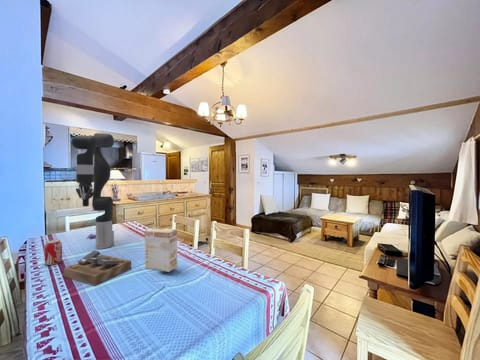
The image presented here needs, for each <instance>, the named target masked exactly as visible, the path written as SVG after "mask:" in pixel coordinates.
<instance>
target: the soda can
mask: <svg viewBox="0 0 480 360" xmlns="http://www.w3.org/2000/svg"><path fill="white" fill-rule="evenodd" d="M43 248H44V250H43V253H44V254H43V256H44V265H47V266H54V265H57V264H59V263H60V262H62V261H63V244H62V242H61V240H60V239H52V240H48V241H45V245H44V247H43Z"/></svg>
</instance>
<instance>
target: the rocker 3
mask: <svg viewBox="0 0 480 360" xmlns="http://www.w3.org/2000/svg"><path fill="white" fill-rule="evenodd" d="M97 263H98V264H102V265H111V264H119V260H114V259H104V260H98V261H97Z"/></svg>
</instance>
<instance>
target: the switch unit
mask: <svg viewBox="0 0 480 360" xmlns="http://www.w3.org/2000/svg"><path fill="white" fill-rule="evenodd" d="M97 257H108V258H110V259H114V260H119V264H111V265H102V264H98V263H90V262H89V263H88V264H86V265H81V264H79V263H78V262H77V263H74V264H71V265H69V266H65V267H64V268H63V277H65V278H68V279H71V280H74V281H76V282H80V283H83V284H87V285H91V286H97V285H100V284H102V283H103V282H106V281H108V280H110V279H112V278H115V277H116V276H119V275H121V274H123V273H125V272H127V271H129V270H131V269H132V260H129V259H124V258H119V257H116V256H115V257H114V256H109V255H105V254H100V255H98V256H97Z"/></svg>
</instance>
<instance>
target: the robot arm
mask: <svg viewBox="0 0 480 360" xmlns="http://www.w3.org/2000/svg"><path fill="white" fill-rule="evenodd" d="M114 144H115V138H114V137H113V135H112V134H110V133H102V132H101V133H99V132H96V133H94V134H93V135H74V136H73V137H72V138H71V145H72V147H74V148H75V149H78V150H86V151H85V152H81V153H78V154H76V168H75V171H76V172H75V179H76V180H75V182H76V183H77V184H78V188H75V192H76V193H77V195H78V198H79V199H81V200H82V207H89V205H90V199H91V200H92V202H91V203H92V204H91V206H92V210H94V211H95V212H99V211H100V212H101V211H104V213H103V214H100V215H99V216H96V218H95V235H96V238H95V247H96V249H97V250H98V249H99V250H100V249H101V250H102V249H108V248H112V247H113V246H114V245H115V231H114V230H113V215H114V214H113V212H114V211H113V210H114V200H113V197H112V196H102V191H103V189H104V187H105V185H106V184H107V183H108V181H109V180H110V178H111V166H110V164H109V163H108V161H107V160H106V158H105V157H104V155H103V153H102V148H107V149H108V148H109V149H110V148H112V147H113V146H114Z"/></svg>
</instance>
